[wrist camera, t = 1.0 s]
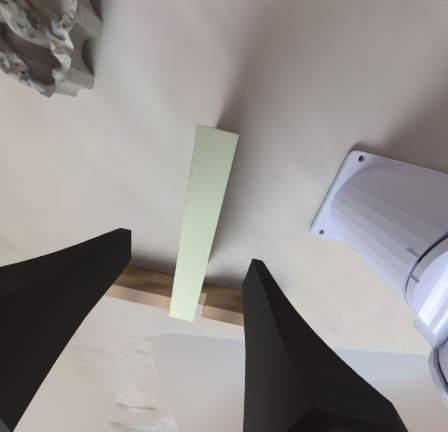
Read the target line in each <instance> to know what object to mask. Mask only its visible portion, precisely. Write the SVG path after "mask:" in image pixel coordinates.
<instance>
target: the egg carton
mask: <svg viewBox="0 0 448 432" xmlns="http://www.w3.org/2000/svg"><path fill="white" fill-rule="evenodd" d="M69 12H71V13H73V14H74V17H75V18H74V19H72V18H71V17H70V16H69ZM3 23H5V24H8V25H9V27H10V29H12V30H13V31H14V32H15V33H16V34H17V35H18V36H20V37H21V38H23V39H25V40H28V41H30V42H33V43H35V44H37V45H40V46H42V47H44V48H46V49H49V50H51V53H52V54H53V55H54V56H55V57H56V58H57V59H58V60H59V61H60V62H61V64H62V66H61V67H55V69H53V68H51V67H50V66H48V65H46V64H44V63H41V62H38V61H35V60H32V59H29V58H26V57H24V56H21V55H18V54H16V53H15V52H14V51H13V49H12V48H11V47H10V46H9V45H8V44H7V43H6V42H5V41H4V38H3V30H2V29H3ZM102 27H103V22H102V21H101V19H100V18H99V17H98V16H97V15H96V13H95V12H94V10H93V8H92V5H91V2H90V0H73V2H72V3H71V4H70V5H69V11H68V12H63V20H62V19H60V17H59V16H58V15H57V14H56V13H55V12H54V11H52V10H51V9H49V8H48V7H46V6H45V5H43V4H42V3H40V2H39V1H37V0H0V70H2V71H4V72H5V73H6V74H8V75H10V76H11V77H13V78H15V79H16V80H18V81H19V82H21V83H23V84H25V85H27V86H29V87H31V88H33V89H35V90H37V91H38V92H39V93H41V94H43V95H45V96H47V97H50V96H51V95H52V94H53V93H59V94H63V95H68V96H72V97H75V96H76V94H77V92H78V91H79V90H80V89H83V88H87V89H91V90H92V89H93V84H94V76H93V75H92V74H91V73H90V72H89V70H88V69H87V68H86V66H85V64H84V62H83V59H82V46H83V44H84V42H85V41H86V40H87V39H89V38H97V39H100V38H101V33H102Z"/></svg>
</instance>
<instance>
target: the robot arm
mask: <svg viewBox="0 0 448 432" xmlns="http://www.w3.org/2000/svg"><path fill="white" fill-rule="evenodd" d="M360 156H362V160H360V161H359V160H358V159H359V157H360ZM320 230H323V231H322V232H319V231H320ZM310 232H311V233H312V234H313V235H316V236H320V237H324V238H328V239H333V240H337V241H341V242H345V243H347V244H348V245H349V246H350V247H351V248H352V249H353V250H354V251H355V252H356V253H357V254H358V255H359V256H360V257H361V258H362V259H363V260H364V261H365V262H366V263H367V264H368V265H369V266H370V267H371V268H372V270H373V271H374V272H375V273H376V274H377V275H378V276H379V277H380V278H381V279H382V280H383V281H384V282H385V283H386V284H387V285H388V286H389V287H390V288H391V289H392V290H393V291H394V292H395V293H396V294H397V295H398V296H399V297H400V298H401V299H402V300H403V301H404V302H405V303H406V304H407V305H408V306H409V307H410V308H411V309H412V311H413V312H414V314H415V322H414V324H413V326H414V327H415V328H416V329H417V331H418V332H419V333H420V334H421V335H422V336H423V337H424V338H425V339H426V341H427V342H428V343H429V344H430V345H431V346H432V347H433V349H432V350H431V352H430V355H429V360H428V363H429V371H430V374H431V377H432V380H433V383H434V385H435V387H436V389H437V391H438V393H439V395H440V397H441V399H442V400H443V402H444V403H445V405H446V406H447V408H448V174H447V173H443V172H440V171H436V170H432V169H428V168H424V167H420V166H417V165H413V164H409V163H405V162H401V161H397V160H394V159H390V158H386V157H382V156H378V155H374V154H370V153H367V152H363V151H359V150H353V151H351V152H350V153H349V154H348V155H347V157H346V159H345V161H344V163H343V165H342V167H341V169H340V171H339V173H338V175H337V177H336V179H335V181H334V183H333V185H332V187H331V189H330V191H329V193H328V195H327V196H326V198H325V200H324V202H323V204H322V206H321V208H320V210H319V212H318V214H317V216H316V218H315V220H314V222H313V224H312V226H311V228H310ZM130 259H131V230H128V229H123V228H119V229H116V230H113V231H111V232H108V233H105V234H103V235H100V236H98V237H95V238H93V239H90V240H87V241H85V242H82V243H79V244H77V245H74V246H71V247H68V248H65V249H62V250H59V251H56V252H53V253H50V254H47V255H44V256H40V257H37V258H33V259H30V260H26V261H22V262H19V263H14V264H10V265H6V266H2V267H0V432H13V431H14V429H15V427H16V426H17V424H18V422H19V420H20V419H21V417H22V415H23V414H24V412H25V410H26V409H27V407H28V405H29V404H30V402H31V400H32V399H33V397H34V395H35V394H36V392H37V390H38V389H39V387H40V385H41V384H42V382H43V381H44V379H45V378H46V376H47V374H48V373H49V371H50V370H51V368H52V366H53V365H54V363H55V362H56V360H57V359H58V357H59V356H60V354H61V353H62V351H63V350H64V348H65V347H66V345H67V344H68V342H69V341H70V339H71V338H72V336H73V335H74V333H75V332H76V330H77V329H78V327H79V326H80V325H81V323H82V322H83V320H84V319H85V317H86V316H87V315H88V313H89V312H90V311H91V310H92V308H93V307H94V306H95V305H96V304H97V302H98V301H99V300H100V299H101V298H102V296H103V295H104V294H105V293H106V292H107V290H108V289H109V288H110V287H111V286H112V284H113V283H114V282H115V281H116V280H117V278H118V277H119V276H120V275H121V273H122V272H123V270H124V269H125V267H126V266H127V264H128V263H129V261H130ZM242 303H243V318H244V331H245V348H246V359H245V400H244V423H243V432H408V430H407V428H406V427H405V425H404V423H403V422H402V420H401V418H400V416H399V414H398V413H397V411H396V409H395V408H394V406H393V404H392V403H391V402H390V401H389V400H387V399H386V398H385V397H384V396H383V395H382V394H380V393H379V392H378V391H377V390H376V389H375V388H373V387H372V386H371V385H370V384H369V383H368V382H366V381H365V380H364V379H363V378H362V377H360V376H359V375H358V374H357V373H356V372H355V371H354V370H353V369H352V368H351V367H349V366H348V365H347V364H346V363H345V362H344V361H343V360H342V359H341V358H340V357H339V356H338V355H337V354H336V353H335V352H334V351H332V349H331V348H330V347H329V346H328V345H327V344H326V343H325V342H324V341H323V340H322V339H321V338H320V337H319V336H318V335H317V334H316V333H315V332H314V331H313V330H312V328H311V327H310V326H309V325H308V324H307V323H306V322H305V320H304V319H303V318H302V317H301V316H300V315H299V313H298V312H297V311H296V310H295V308H294V307H293V306H292V304H291V303H290V302H289V300H288V299H287V298H286V296H285V295H284V293H283V292H282V291H281V289H280V288H279V286H278V285H277V283H276V282H275V280H274V278H273V277H272V275H271V274H270V272H269V270H268V269H267V267H266V265H265V264H264V262H263V261H261V260H257V259H252V261H251V264H250V267H249V269H248V272H247V275H246V277H245V280H244V282H243V295H242Z"/></svg>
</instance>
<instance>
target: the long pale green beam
mask: <svg viewBox="0 0 448 432" xmlns="http://www.w3.org/2000/svg"><path fill="white" fill-rule="evenodd" d="M238 137H239V134H237V133H233V132H229V131H225V130H222V129H218V128H213V127H208V126H202V125H197V128H196V135H195V142H194V149H193V156H192V162H191V169H190V176H189V183H188V189H187V196H186V203H185V210H184V217H183V223H182V230H181V237H180V244H179V250H178V257H177V264H176V271H175V277H174V284H173V291H172V298H171V305H170V311H169V316H170V317H174V318H179V319H183V320H188V321H192V322H193V321H194V317H195V312H196V308H197V304H198V300H199V296H200V292H201V288H202V284H203V280H204V276H205V272H206V267H207V263H208V259H209V255H210V251H211V247H212V243H213V239H214V235H215V231H216V227H217V223H218V218H219V214H220V210H221V206H222V202H223V198H224V194H225V190H226V186H227V182H228V178H229V173H230V169H231V165H232V161H233V157H234V153H235V149H236V145H237V141H238Z"/></svg>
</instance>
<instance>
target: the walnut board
mask: <svg viewBox="0 0 448 432" xmlns="http://www.w3.org/2000/svg"><path fill="white" fill-rule="evenodd" d="M174 277H175V276H172V275H168V274H163V273H159V272H155V271H150V270H146V269H142V268H137V267H133V266H128V265H127V266H126V267H125V269H124V270H123V272H122V273H121V275H120V276H119V277H118V278H117V280H116V281H115V282H114V283H113V284H112V286H111V287H110V288H109V289H108V290H107V292H106V296H109V297H114V298H118V299H123V300H127V301H132V302H136V303H141V304H145V305H150V306H154V307H159V308H163V309H168V310H170V305H171V298H172V291H173V284H174ZM242 295H243V292H242V291H238V290H233V289H229V288H225V287H220V286H216V285H212V284H207V283H203V284H202V288H201V292H200V296H199V300H198V304H200V305H204V307H203V312H202V317H204V318H208V319H213V320H217V321H222V322H226V323H231V324H235V325H240V326H244V318H243V303H242Z"/></svg>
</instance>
